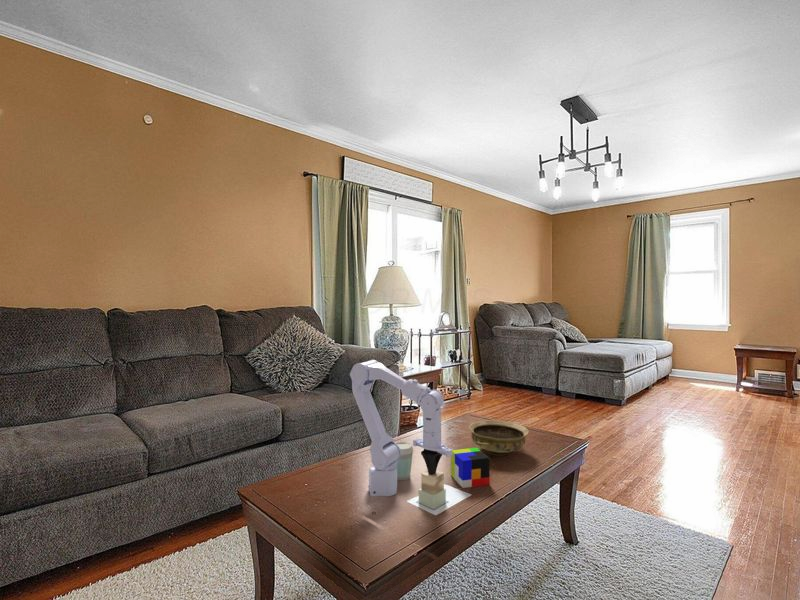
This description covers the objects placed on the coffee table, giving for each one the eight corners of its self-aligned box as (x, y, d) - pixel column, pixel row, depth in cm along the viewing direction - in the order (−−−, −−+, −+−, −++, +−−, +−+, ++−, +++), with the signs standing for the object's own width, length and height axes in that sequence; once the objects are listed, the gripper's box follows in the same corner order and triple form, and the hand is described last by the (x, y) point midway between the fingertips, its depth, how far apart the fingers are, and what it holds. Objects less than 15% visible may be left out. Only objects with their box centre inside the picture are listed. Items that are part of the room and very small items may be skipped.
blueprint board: (435, 518, 126) (435, 515, 126) (406, 503, 134) (406, 501, 134) (471, 497, 138) (471, 494, 138) (442, 485, 147) (442, 482, 147)
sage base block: (433, 508, 129) (433, 495, 129) (418, 502, 134) (418, 489, 134) (445, 501, 134) (445, 489, 134) (431, 495, 138) (431, 483, 138)
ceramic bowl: (508, 471, 158) (508, 444, 158) (453, 455, 174) (453, 431, 174) (540, 449, 181) (540, 425, 181) (490, 436, 197) (490, 415, 197)
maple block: (433, 494, 130) (433, 478, 130) (421, 489, 134) (421, 473, 134) (444, 488, 134) (443, 473, 134) (431, 484, 137) (431, 468, 137)
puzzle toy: (462, 490, 143) (462, 460, 143) (451, 478, 153) (451, 450, 153) (489, 486, 146) (489, 457, 146) (476, 474, 156) (476, 447, 156)
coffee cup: (416, 475, 155) (416, 442, 155) (410, 485, 147) (410, 450, 147) (393, 472, 158) (393, 440, 157) (386, 482, 149) (386, 448, 149)
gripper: (458, 432, 131) (458, 476, 131) (423, 422, 141) (423, 463, 141) (444, 438, 126) (444, 483, 126) (408, 427, 136) (408, 469, 136)
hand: (432, 473), depth 134 cm, fingers closed, pressing on maple block
